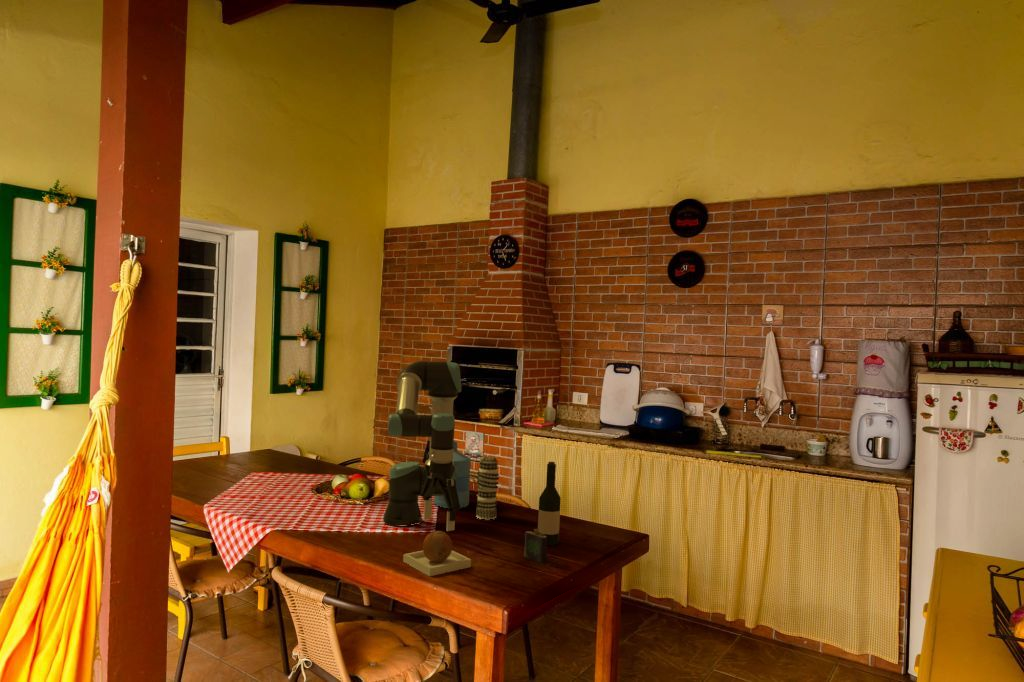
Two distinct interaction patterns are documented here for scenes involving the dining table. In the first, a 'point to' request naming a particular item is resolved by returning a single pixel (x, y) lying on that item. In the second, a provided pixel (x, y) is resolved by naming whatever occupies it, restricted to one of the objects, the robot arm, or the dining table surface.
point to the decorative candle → (487, 488)
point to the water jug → (459, 479)
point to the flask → (535, 546)
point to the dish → (436, 563)
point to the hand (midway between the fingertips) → (438, 524)
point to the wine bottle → (549, 508)
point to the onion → (437, 546)
